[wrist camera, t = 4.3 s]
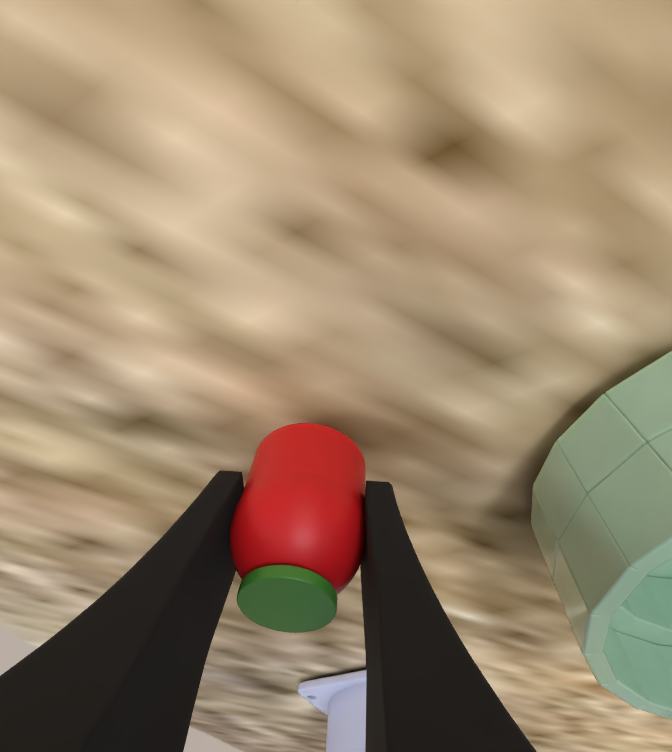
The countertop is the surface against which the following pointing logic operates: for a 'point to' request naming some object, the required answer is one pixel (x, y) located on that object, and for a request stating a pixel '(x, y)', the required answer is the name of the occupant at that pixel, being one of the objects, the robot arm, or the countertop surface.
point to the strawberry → (299, 527)
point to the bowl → (616, 535)
